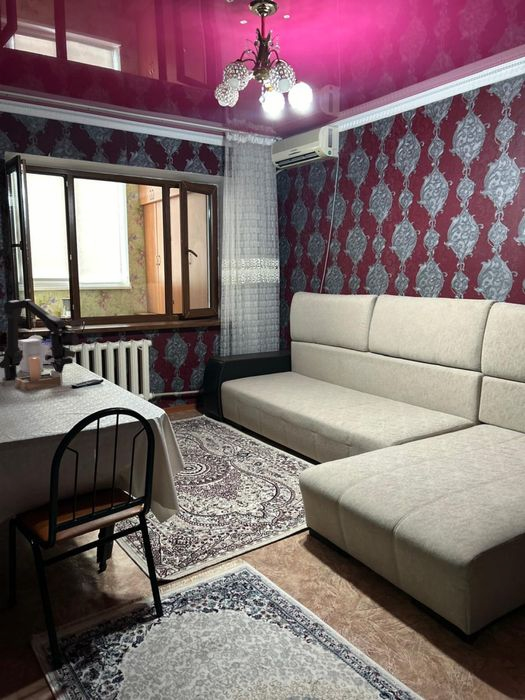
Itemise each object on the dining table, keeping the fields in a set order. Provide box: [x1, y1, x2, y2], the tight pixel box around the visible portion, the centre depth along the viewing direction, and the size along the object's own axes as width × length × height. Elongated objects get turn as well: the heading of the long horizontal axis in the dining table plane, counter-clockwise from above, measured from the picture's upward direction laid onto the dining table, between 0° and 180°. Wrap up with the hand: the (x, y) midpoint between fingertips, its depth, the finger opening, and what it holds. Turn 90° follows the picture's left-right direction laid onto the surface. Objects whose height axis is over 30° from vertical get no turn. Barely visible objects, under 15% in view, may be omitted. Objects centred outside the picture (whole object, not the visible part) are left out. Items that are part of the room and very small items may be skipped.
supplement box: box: [18, 338, 44, 373], centre depth 297 cm, size 10×9×17 cm
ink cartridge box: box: [41, 338, 52, 364], centre depth 314 cm, size 10×6×14 cm, turn 78°
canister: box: [29, 357, 42, 381], centre depth 260 cm, size 5×5×12 cm
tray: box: [23, 369, 63, 384], centre depth 263 cm, size 10×15×5 cm, turn 134°
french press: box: [27, 318, 46, 343], centre depth 324 cm, size 10×12×25 cm
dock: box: [14, 372, 61, 392], centre depth 262 cm, size 12×17×4 cm
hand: (59, 376), depth 270 cm, fingers closed, pressing on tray
